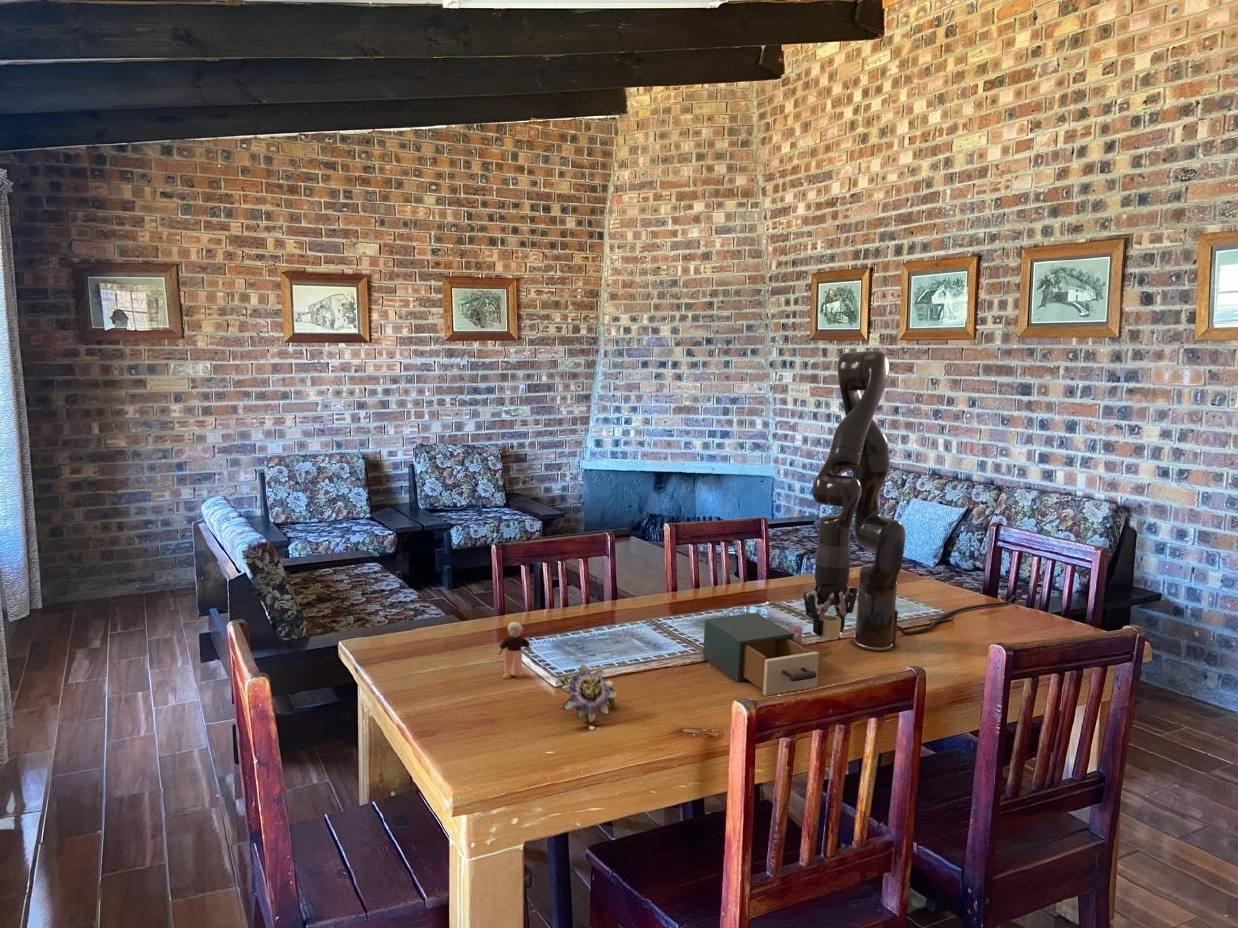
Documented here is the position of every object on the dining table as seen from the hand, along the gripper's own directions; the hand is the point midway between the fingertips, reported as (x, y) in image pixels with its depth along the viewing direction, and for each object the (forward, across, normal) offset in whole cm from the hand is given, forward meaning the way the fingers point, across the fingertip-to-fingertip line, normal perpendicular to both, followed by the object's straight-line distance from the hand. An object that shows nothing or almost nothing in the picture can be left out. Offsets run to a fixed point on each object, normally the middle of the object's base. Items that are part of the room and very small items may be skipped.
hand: (828, 632), depth 201 cm
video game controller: (+10, +2, +16) cm, 19 cm away
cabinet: (+10, -14, +12) cm, 21 cm away
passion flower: (+9, -60, +2) cm, 60 cm away
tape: (+1, 0, 0) cm, 1 cm away
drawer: (+9, -15, -1) cm, 17 cm away
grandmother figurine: (+9, -67, +25) cm, 72 cm away
